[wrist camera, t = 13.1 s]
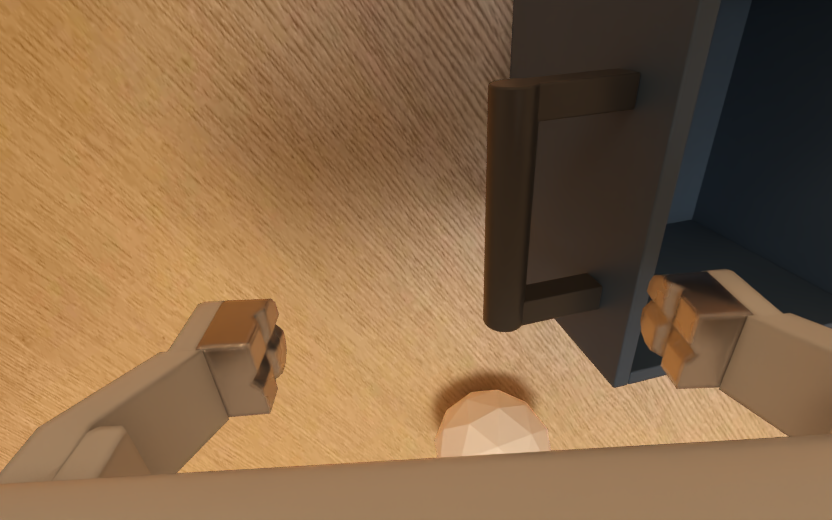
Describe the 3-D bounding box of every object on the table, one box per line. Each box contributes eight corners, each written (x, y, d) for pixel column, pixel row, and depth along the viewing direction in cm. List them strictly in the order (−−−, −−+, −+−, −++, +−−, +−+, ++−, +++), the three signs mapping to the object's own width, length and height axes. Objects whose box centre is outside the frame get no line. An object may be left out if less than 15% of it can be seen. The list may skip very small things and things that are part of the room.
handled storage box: (761, -39, 21) (1094, -65, 12) (690, 222, 27) (874, 323, 19) (412, -17, 18) (531, -31, 9) (427, 270, 24) (504, 416, 16)
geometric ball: (482, 359, 36) (543, 379, 28) (526, 445, 37) (596, 486, 29) (401, 416, 33) (444, 454, 26) (450, 506, 34) (506, 568, 27)
